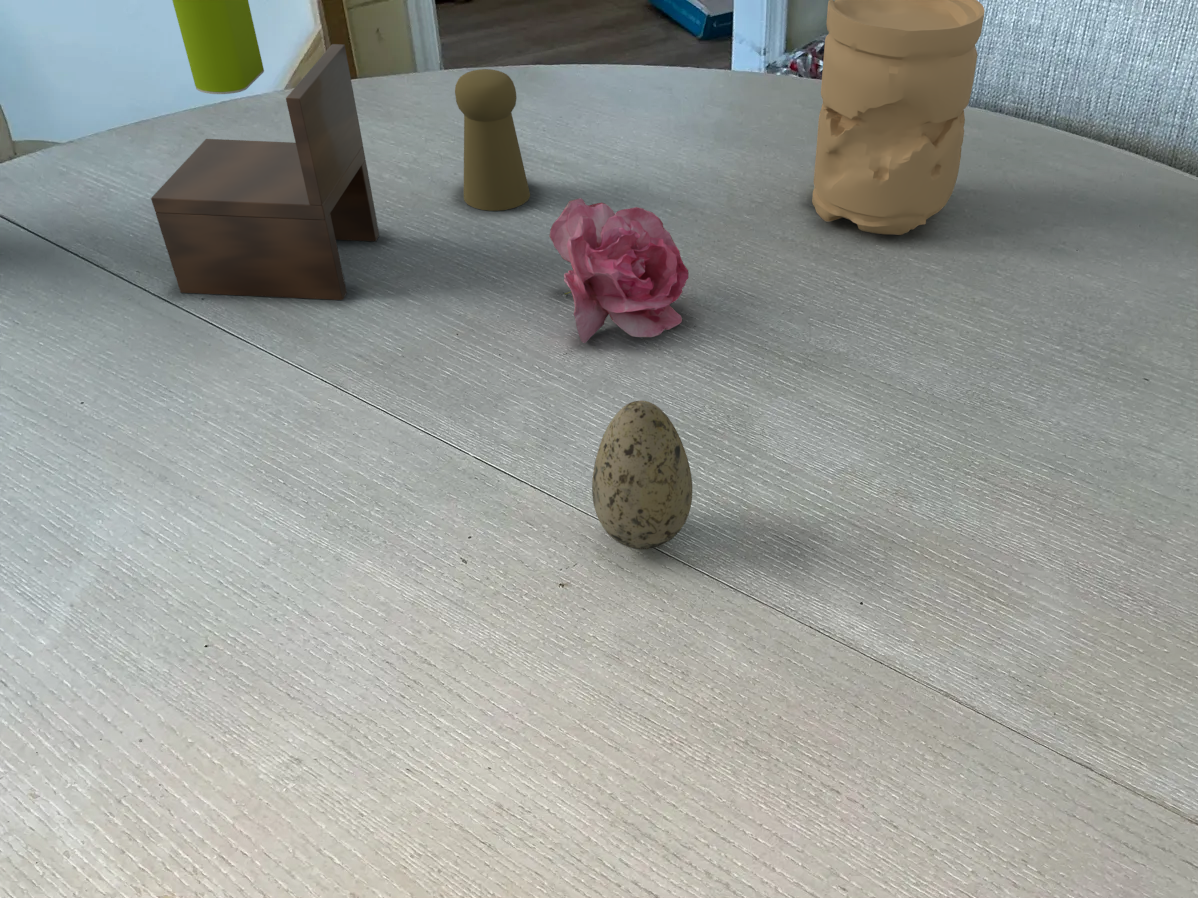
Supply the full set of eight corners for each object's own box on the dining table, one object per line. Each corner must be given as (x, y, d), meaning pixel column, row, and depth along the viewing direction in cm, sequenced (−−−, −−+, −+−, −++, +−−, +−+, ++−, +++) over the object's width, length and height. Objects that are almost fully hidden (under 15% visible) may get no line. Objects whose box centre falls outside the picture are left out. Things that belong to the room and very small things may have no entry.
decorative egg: (616, 582, 70) (610, 447, 63) (581, 522, 74) (571, 389, 67) (707, 555, 72) (710, 421, 65) (668, 498, 76) (667, 366, 69)
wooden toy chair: (180, 292, 93) (116, 90, 83) (230, 228, 101) (178, 37, 91) (342, 300, 93) (299, 98, 82) (379, 235, 101) (344, 44, 91)
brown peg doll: (485, 217, 104) (470, 92, 97) (451, 192, 108) (434, 71, 100) (543, 198, 107) (533, 76, 100) (507, 175, 111) (495, 56, 103)
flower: (698, 350, 95) (712, 297, 85) (577, 376, 93) (577, 324, 83) (663, 223, 97) (672, 158, 87) (544, 246, 95) (540, 181, 85)
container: (784, 201, 108) (797, -6, 96) (889, 172, 113) (914, -28, 101) (870, 258, 100) (896, 40, 88) (979, 223, 105) (1018, 13, 93)
